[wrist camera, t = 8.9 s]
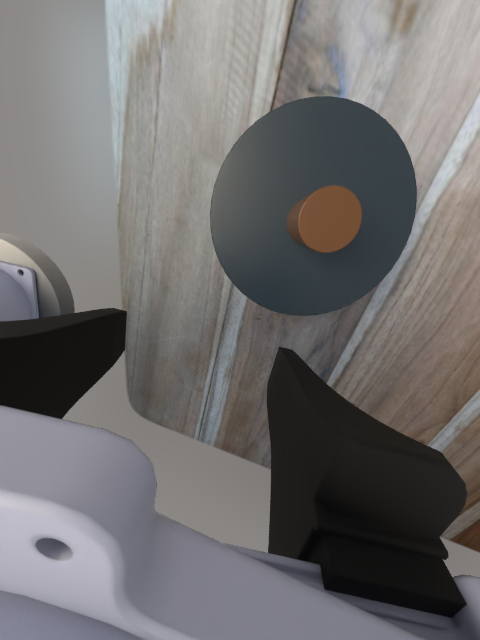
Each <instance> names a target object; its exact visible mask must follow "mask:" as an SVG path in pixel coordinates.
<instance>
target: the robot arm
mask: <svg viewBox="0 0 480 640" xmlns="http://www.w3.org/2000/svg"><path fill="white" fill-rule="evenodd" d="M22 271H23V273H24V274H23V273H22ZM126 316H127V311H123V310H119V309H115V308H107V309H98V310H92V311H86V312H80V313H73V314H67V315H60V316H53V317H45V318H39V309H38V298H37V287H36V276H35V272H34V270H33V269H31V268H28V267H24V266H20V265H16V264H11V263H7V262H3V261H0V640H480V578H479V577H475V576H471V575H459V576H454V577H453V578H452V576H451V574H450V572H449V570H448V569H447V567H446V565H445V563H444V561H443V560H442V559H444V560H446V559H447V558H448V551H447V550H446V548H445V546H444V544H443V543H442V541H441V539H440V536H441V535H442V533H443V532H444V531H445V530H446V529H447V528H448V527H449V525H450V524H451V523H452V522H453V521H454V520H455V519H456V517H457V516H458V515H459V514H460V512H461V511H462V509H463V507H464V506H465V502H466V497H467V490H466V485H465V483H464V481H463V480H462V479H461V477H460V476H459V474H458V473H457V472H456V471H455V469H454V468H453V467H452V465H451V464H450V463H449V462H448V460H447V459H446V458H445V456H444V455H443V454H442V453H441V452H439V451H437V450H435V449H433V448H431V447H429V446H426V445H424V444H422V443H420V442H418V441H416V440H414V439H412V438H409V437H407V436H405V435H403V434H401V433H399V432H398V431H396V430H394V429H392V428H390V427H388V426H387V425H385V424H383V423H381V422H379V421H378V420H376V419H374V418H373V417H371V416H369V415H368V414H366V413H365V412H363V411H362V410H360V409H359V408H357V407H356V406H354V405H353V404H351V403H350V402H348V401H347V400H346V399H345V398H343V397H342V396H341V395H339V394H338V393H337V392H335V391H334V390H333V389H332V388H331V387H329V386H328V385H327V384H326V383H325V382H324V381H323V380H322V379H321V378H320V377H319V376H318V375H317V374H315V373H314V372H313V371H312V369H311V368H310V367H309V366H308V365H307V364H306V363H305V362H304V361H303V360H302V359H301V358H300V357H299V356H298V355H297V354H296V353H295V352H294V351H293V350H291V349H287V348H282V347H279V349H278V352H277V355H276V358H275V361H274V365H273V368H272V371H271V374H270V377H269V380H268V386H267V410H268V421H269V431H270V442H271V500H270V525H269V547H268V553H266V552H261V551H257V550H252V549H248V548H243V547H239V546H234V545H230V544H225V543H221V542H219V541H217V540H215V539H213V538H210V537H208V536H206V535H204V534H202V533H200V532H197V531H195V530H194V529H191V528H189V527H187V526H185V525H183V524H181V523H179V522H177V521H174V520H172V519H170V518H168V517H166V516H164V515H162V514H160V513H158V512H155V509H154V503H155V495H156V488H157V482H156V478H155V474H154V469H153V465H152V462H151V460H150V459H149V458H148V457H147V456H146V455H145V454H144V453H143V452H142V451H141V449H140V448H139V447H138V446H137V445H136V444H135V443H134V442H133V441H132V440H129V439H127V438H125V437H122V436H120V435H118V434H116V433H113V432H111V431H109V430H106V429H103V428H98V427H94V426H89V425H85V424H80V423H76V422H72V421H67V420H63V419H62V418H63V417H64V416H65V414H66V413H67V412H68V411H69V410H70V408H71V407H72V406H73V405H74V404H75V403H76V402H77V401H78V400H79V399H80V398H81V397H82V396H83V395H84V394H85V393H86V392H87V391H88V390H89V389H90V388H91V387H92V386H93V385H94V384H95V383H96V382H97V381H98V380H99V379H100V378H101V377H102V376H103V375H104V374H105V373H106V372H107V371H108V370H109V369H110V368H111V367H112V366H113V365H114V364H115V363H116V361H117V360H118V359H119V357H120V356H121V354H122V353H123V352H124V350H125V336H126Z"/></svg>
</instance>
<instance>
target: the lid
mask: <svg viewBox="0 0 480 640" xmlns="http://www.w3.org/2000/svg"><path fill="white" fill-rule="evenodd" d="M416 202H417V187H416V179H415V172H414V168H413V165H412V161H411V158H410V155H409V153H408V151H407V149H406V147H405V144H404V143H403V141H402V140H401V138H400V137H399V135H398V133H397V132H396V131H395V130H394V128H393V127H392V126H391V125H390V124H389V123H388V122H387V121H386V120H385V119H384V118H383V117H381V116H380V115H379V114H377V113H376V112H375V111H373V110H372V109H370V108H368V107H366V106H364V105H362V104H360V103H357V102H354V101H351V100H348V99H344V98H338V97H331V96H327V97H310V98H304V99H299V100H296V101H293V102H290V103H287V104H284V105H282V106H280V107H278V108H276V109H274V110H272V111H270V112H269V113H268V114H266V115H265V116H263V117H262V118H260V119H259V120H257V121H256V122H255V123H254V124H253V125H252V126H251V127H250V128H249V129H247V130H246V131H245V132H244V134H243V135H242V136H241V137H240V138H239V140H238V141H237V142H236V143H235V144H234V146H233V148H232V149H231V151H230V152H229V154H228V155H227V157H226V159H225V161H224V163H223V165H222V167H221V169H220V171H219V174H218V177H217V180H216V183H215V186H214V191H213V195H212V201H211V211H210V223H211V233H212V240H213V244H214V247H215V251H216V254H217V256H218V259H219V261H220V264H221V266H222V267H223V269H224V271H225V273H226V274H227V276H228V277H229V279H230V280H231V281H232V283H233V284H234V285H235V286H236V287H237V288H238V289H239V290H240V291H241V292H242V293H243V294H244V295H246V296H247V297H248V298H249V299H251V300H252V301H254V302H255V303H257V304H259V305H260V306H263V307H265V308H267V309H269V310H272V311H275V312H279V313H282V314H288V315H299V316H308V315H318V314H323V313H328V312H331V311H334V310H337V309H340V308H342V307H345V306H347V305H349V304H351V303H353V302H354V301H356V300H358V299H360V298H361V297H363V296H364V295H365V294H367V293H368V292H369V291H371V290H372V289H373V288H374V287H375V286H376V285H377V284H378V283H379V282H381V281H382V280H383V278H384V277H385V276H386V275H387V274H388V273H389V271H390V270H391V269H392V267H393V266H394V264H395V263H396V261H397V260H398V259H399V257H400V255H401V253H402V251H403V249H404V247H405V245H406V243H407V240H408V238H409V235H410V233H411V229H412V225H413V221H414V217H415V210H416Z"/></svg>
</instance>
